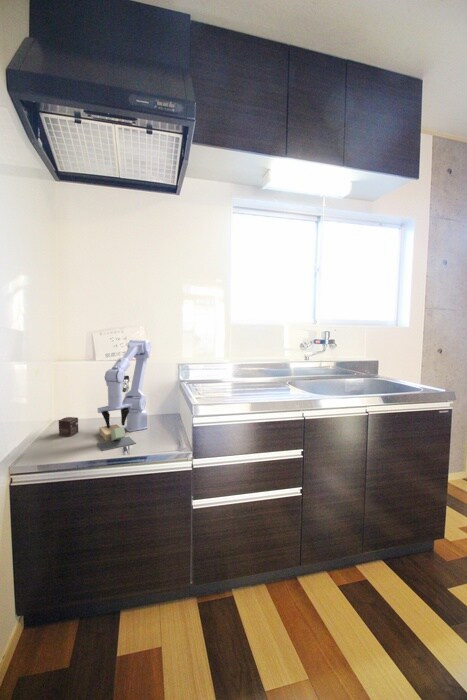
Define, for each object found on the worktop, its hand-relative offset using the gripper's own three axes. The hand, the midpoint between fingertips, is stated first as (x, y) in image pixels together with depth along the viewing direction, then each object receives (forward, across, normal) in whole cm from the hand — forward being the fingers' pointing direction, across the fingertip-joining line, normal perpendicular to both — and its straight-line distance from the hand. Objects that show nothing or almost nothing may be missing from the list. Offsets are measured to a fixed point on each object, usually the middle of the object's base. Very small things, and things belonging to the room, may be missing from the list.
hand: (115, 426), depth 148 cm
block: (+4, 0, 0) cm, 4 cm away
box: (+7, -16, +20) cm, 26 cm away
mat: (+6, -1, -4) cm, 8 cm away
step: (+6, 0, +7) cm, 9 cm away
